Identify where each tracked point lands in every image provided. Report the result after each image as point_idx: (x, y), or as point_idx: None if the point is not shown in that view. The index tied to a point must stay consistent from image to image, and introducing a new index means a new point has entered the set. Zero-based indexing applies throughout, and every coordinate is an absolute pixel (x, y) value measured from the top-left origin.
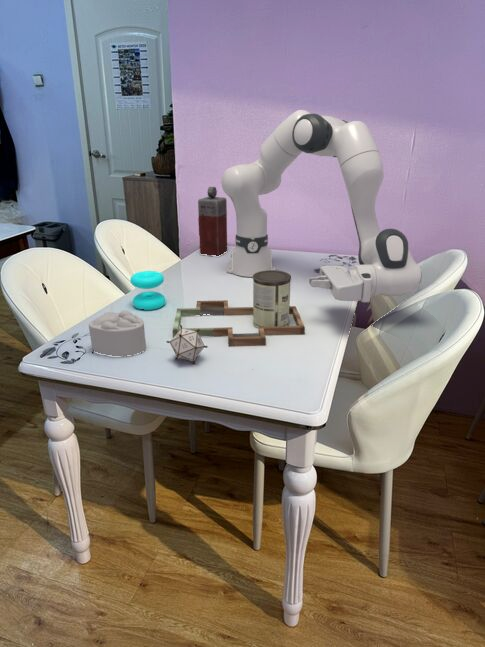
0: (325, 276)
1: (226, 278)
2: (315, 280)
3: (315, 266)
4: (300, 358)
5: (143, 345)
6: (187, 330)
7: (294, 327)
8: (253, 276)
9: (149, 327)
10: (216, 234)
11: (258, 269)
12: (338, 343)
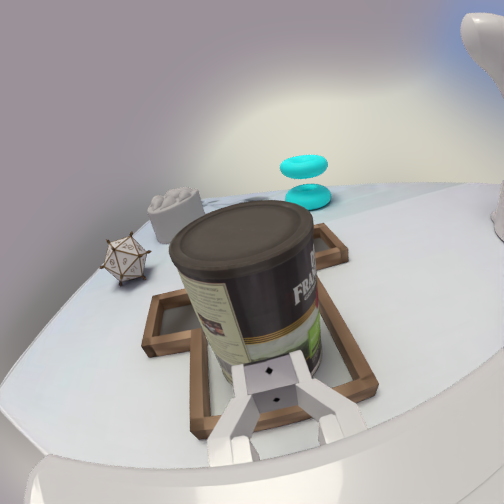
0: (338, 438)
1: (471, 223)
2: (236, 383)
3: None
4: (86, 413)
5: (162, 236)
6: (121, 242)
7: (192, 403)
8: (231, 205)
9: None
10: None
11: None
12: None
